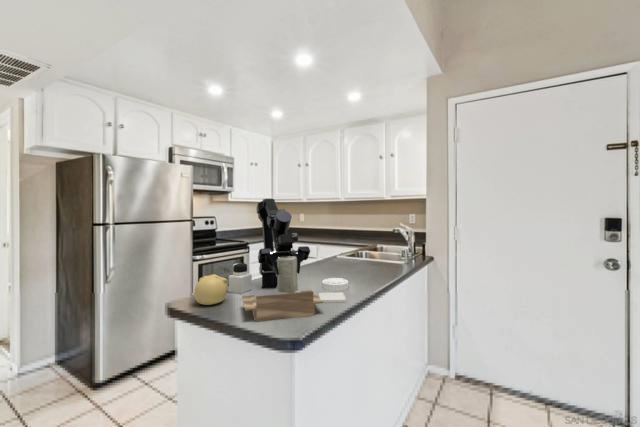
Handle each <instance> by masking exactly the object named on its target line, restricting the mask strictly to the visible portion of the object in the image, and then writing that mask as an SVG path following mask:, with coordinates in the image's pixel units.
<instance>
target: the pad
mask: <svg viewBox="0 0 640 427" xmlns="http://www.w3.org/2000/svg"><path fill="white" fill-rule="evenodd" d="M318 297H319V298H320V299H321V300H322V301H323V303H322V304H325V303H326V304H329V303H333V304H334V303H347V299H346V296H345V294H344V292H342V291H341V292H319V293H318Z"/></svg>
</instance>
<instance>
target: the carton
mask: <svg viewBox="0 0 640 427" xmlns="http://www.w3.org/2000/svg"><path fill="white" fill-rule="evenodd" d="M241 297H242V298H241V299H242V301H243V308H244V311H245V312H246V311H247V312H248V311H251V313H252V316H253V317H252V318H253V319H254V321H255V322H261V321H263V322H265V321H273V320H281V319H282V320H283V319H290V318H299V317H308V316H309V317H310V316H314V315H316V304H318V305H320V304H324V303H323V301H322V300H321V299H320V298H319V295H317V294H316V293H315V292H314V291H313V290H312V289H310V290H301V291H300V292H299V291H298V292H295V293H278V294H267V295H266V294H265V295H257V296H255V295H254V294H253V295H252V294H251V295H242V296H241Z"/></svg>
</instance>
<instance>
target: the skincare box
mask: <svg viewBox="0 0 640 427" xmlns="http://www.w3.org/2000/svg"><path fill="white" fill-rule="evenodd" d="M277 268H278V272H279V275H278V285H277V292H278V293H280V294H287V293H297V291H298V289H299V288H298V273H297V257H295V256H293V257H278V259H277Z"/></svg>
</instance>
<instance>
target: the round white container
mask: <svg viewBox="0 0 640 427" xmlns="http://www.w3.org/2000/svg"><path fill="white" fill-rule="evenodd" d="M321 288H322V289H323V290H325V291H330V292H340V291H341V292H342V291H347V290H348V289H349V280H347V279H345V278H342V277H339V278H338V277H329V278H325V279H323V280H322V282H321Z"/></svg>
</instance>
